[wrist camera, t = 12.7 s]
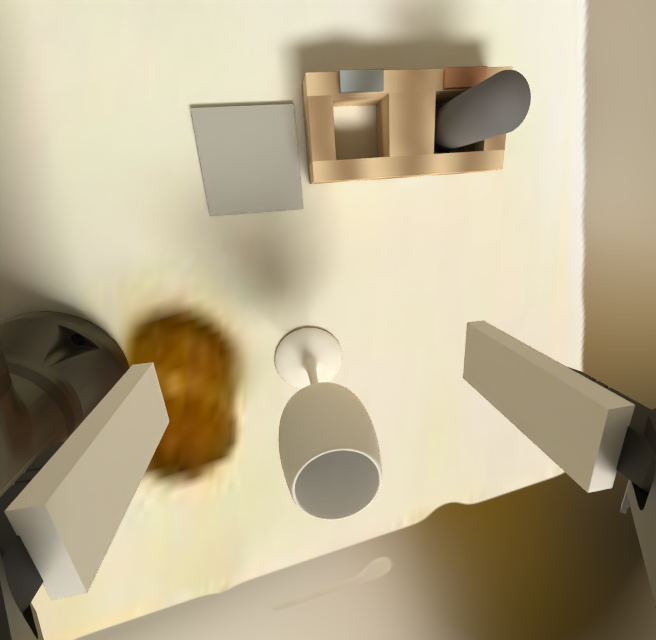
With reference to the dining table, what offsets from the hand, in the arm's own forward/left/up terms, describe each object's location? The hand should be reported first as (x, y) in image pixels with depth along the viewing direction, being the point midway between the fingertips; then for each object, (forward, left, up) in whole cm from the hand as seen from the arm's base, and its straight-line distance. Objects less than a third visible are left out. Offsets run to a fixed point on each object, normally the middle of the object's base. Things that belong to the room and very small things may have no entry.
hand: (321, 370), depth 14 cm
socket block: (+13, +13, -27) cm, 32 cm away
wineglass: (+1, -12, -27) cm, 30 cm away
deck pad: (-3, +11, -27) cm, 29 cm away
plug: (+18, +13, -27) cm, 35 cm away
